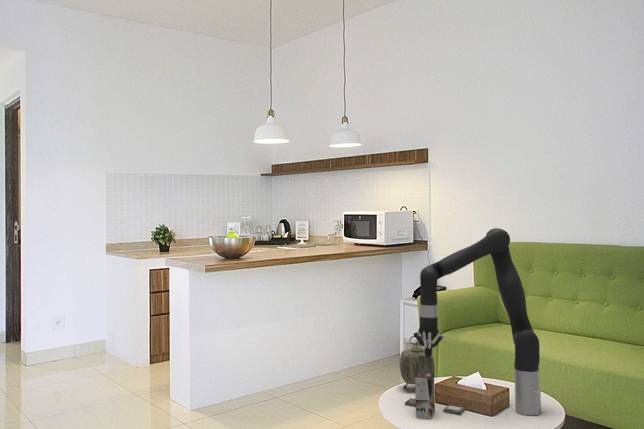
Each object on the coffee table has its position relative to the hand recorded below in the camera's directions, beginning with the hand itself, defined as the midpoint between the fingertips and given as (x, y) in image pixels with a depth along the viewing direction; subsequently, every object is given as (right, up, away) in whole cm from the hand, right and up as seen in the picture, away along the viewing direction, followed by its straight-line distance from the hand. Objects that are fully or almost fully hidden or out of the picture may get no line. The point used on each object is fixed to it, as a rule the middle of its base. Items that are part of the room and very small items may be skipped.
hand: (428, 356), depth 231 cm
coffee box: (-3, -22, -8) cm, 23 cm away
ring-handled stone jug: (0, -21, +23) cm, 31 cm away
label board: (+2, -21, -1) cm, 21 cm away
